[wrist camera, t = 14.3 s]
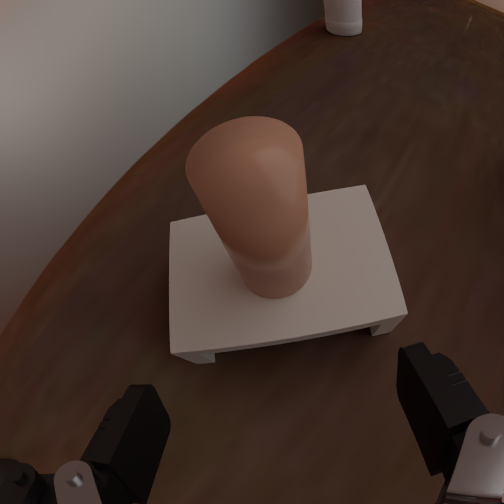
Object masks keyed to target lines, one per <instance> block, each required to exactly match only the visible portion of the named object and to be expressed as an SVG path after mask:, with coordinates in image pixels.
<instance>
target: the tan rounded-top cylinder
mask: <svg viewBox="0 0 504 504" xmlns="http://www.w3.org/2000/svg"><path fill="white" fill-rule="evenodd" d="M185 167H186V176H187V178H188V181H189V183H190V185H191V186H192V188H193V190H194V192H195V194H196V196H197V198H198V199H199V201H200V203H201V205H202V207H203V209H204V210H205V212H206V214H207V216H208V218H209V220H210V221H211V223H212V225H213V227H214V229H215V231H216V232H217V234H218V236H219V238H220V240H221V241H222V243H223V245H224V247H225V249H226V251H227V252H228V254H229V256H230V258H231V260H232V261H233V263H234V265H235V267H236V268H237V270H238V272H239V274H240V276H241V277H242V279H243V281H244V283H245V284H246V286H247V287H248V288H249V289H250V290H251V291H252V292H254V293H255V294H257V295H259V296H261V297H265V298H270V299H278V298H284V297H287V296H290V295H292V294H294V293H296V292H297V291H298V290H300V289H301V288H302V287H303V286H304V285H305V283H306V282H307V280H308V278H309V276H310V274H311V270H312V253H311V237H310V223H309V210H308V197H307V186H306V175H305V164H304V154H303V146H302V142H301V139H300V137H299V135H298V134H297V132H296V131H295V130H294V129H293V128H292V127H290V126H289V125H287V124H286V123H284V122H282V121H279V120H277V119H273V118H269V117H261V116H251V117H243V118H237V119H234V120H230V121H227V122H225V123H222V124H220V125H218V126H216V127H214V128H213V129H211V130H210V131H208V132H207V133H206V134H204V135H203V136H202V137H201V138H200V139H199V140H198V141H197V142H196V143H195V144H194V146H193V147H192V149H191V150H190V152H189V154H188V157H187V160H186V166H185Z"/></svg>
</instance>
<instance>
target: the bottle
mask: <svg viewBox="0 0 504 504" xmlns="http://www.w3.org/2000/svg"><path fill="white" fill-rule="evenodd" d="M324 7H325V23H326V29H327V31H329V32H330V33H332V34H335V35H340V36H354V35H358V34H360V33H361V32H362V9H361V0H324Z"/></svg>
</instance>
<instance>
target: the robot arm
mask: <svg viewBox="0 0 504 504" xmlns="http://www.w3.org/2000/svg"><path fill="white" fill-rule="evenodd" d="M396 385H397V394H398V398H399V401H400V403H401V406H402V408H403V410H404V412H405V415H406V417H407V419H408V422H409V424H410V426H411V429H412V431H413V433H414V436H415V438H416V440H417V443H418V445H419V448H420V450H421V453H422V455H423V458H424V460H425V463H426V465H427V468H428V470H429V473H430V475H431V476H434V475H436V474H439V473H443V475H444V478H445V482H444V484H443V487H442V489H441V491H440V494H439V496H438V499H437V501H436V503H435V504H504V503H502V495H503V491H504V416H502V415H499V414H490V413H489V412H488V410H487V409H486V407H485V406H484V404H483V403H482V402H481V400H480V399H479V397H478V396H477V394H476V393H475V391H474V390H473V389H472V387H471V386H470V384H469V383H468V382H467V381H466V380H465V377H464V376H463V375H462V373H461V372H459V369H458V368H457V367H456V365H455V364H454V363H453V361H452V360H451V359H449V358H448V357H446V356H444V355H442V354H441V353H436V354H433V355H432V354H431V353H430V351H429V350H428V348H427V347H426V346H425V344H424V343H423V342H419V343H415V344H412V345H408V346H405V347H401V348H400V349H399V351H398V368H397V384H396ZM170 427H171V424H170V418H169V415H168V413H167V411H166V409H165V408H164V406H163V404H162V402H161V400H160V398H159V396H158V394H157V392H156V390H155V388H154V387H153V386H152V385H151V384H144V385H130V386H129V387H128V388H127V390H126V392H125V393H124V395H123V397H122V399H118V400H117V401H116V402H115V403H114V404H113V405H112V406H111V407H110V408H109V409H108V410H107V412H106V414H105V416H104V418H103V421H101V423H100V425H99V426H98V430H96V432H95V434H94V435H93V437H92V439H91V441H90V443H89V445H88V446H87V448H86V450H85V452H84V454H83V456H82V457H81V459H80V461H70V462H68V463H66V464H64V465H62V466H61V467H60V468H59V469H58V470H57V472H56V474H39V473H38V472H37V471H36V470H35V469H34V468H33V467H32V466H31V465H29V464H26V463H22V464H20V463H19V462H17V461H16V460H13V459H2V458H0V504H133V503H137V504H146V503H147V500H148V497H149V494H150V491H151V488H152V485H153V482H154V478H155V475H156V472H157V469H158V466H159V463H160V460H161V457H162V454H163V451H164V448H165V445H166V442H167V439H168V436H169V433H170Z"/></svg>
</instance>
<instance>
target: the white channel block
mask: <svg viewBox="0 0 504 504" xmlns="http://www.w3.org/2000/svg"><path fill="white" fill-rule="evenodd" d="M307 197H308V210H309V223H310V237H311V253H312V270H311V274H310V276H309V278H308V280H307V282H306V283H305V285H304V286H303V287H302V288H301V289H300V290H298V291H297V292H296V293H294V294H292V295H290V296H287V297H284V298H278V299H270V298H265V297H261V296H259V295H257V294H255V293H254V292H252V291H251V290H250V289H249V288H248V287H247V286H246V284H245V283H244V281H243V279H242V277H241V276H240V274H239V272H238V270H237V268H236V267H235V265H234V263H233V261H232V260H231V258H230V256H229V254H228V252H227V251H226V249H225V247H224V245H223V243H222V241H221V240H220V238H219V236H218V234H217V232H216V231H215V229H214V227H213V225H212V223H211V221H210V220H209V218H208V216H207V214H206V215H201V216H197V217H192V218H187V219H183V220H179V221H174V222H170V252H169V325H170V353H171V354H173V355H175V356H178V357H180V358H183V359H185V360H188V361H190V362H193V363H195V364H205V363H215V353H218V352H227V351H235V350H243V349H250V348H257V347H264V346H271V345H277V344H283V343H290V342H296V341H301V340H307V339H313V338H318V337H323V336H328V335H334V334H339V333H343V332H348V331H353V330H358V329H362V328H367V327H370V330H371V335H372V336H376V335H380V334H384V333H388V332H391V331H392V330H393V329H394V328H395V327H396V326H397V325H398V323H399V322H400V321H401V320H402V319H403V318H404V317H405V316H406V315H407V314H408V312H407V309H406V305H405V301H404V297H403V294H402V290H401V287H400V283H399V280H398V277H397V273H396V270H395V267H394V263H393V260H392V257H391V254H390V251H389V248H388V245H387V242H386V239H385V236H384V233H383V230H382V227H381V225H380V222H379V219H378V216H377V213H376V211H375V208H374V205H373V203H372V200H371V198H370V195H369V192H368V190H367V187H366V185H361V186H354V187H348V188H342V189H336V190H330V191H325V192H319V193H313V194H307Z"/></svg>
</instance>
